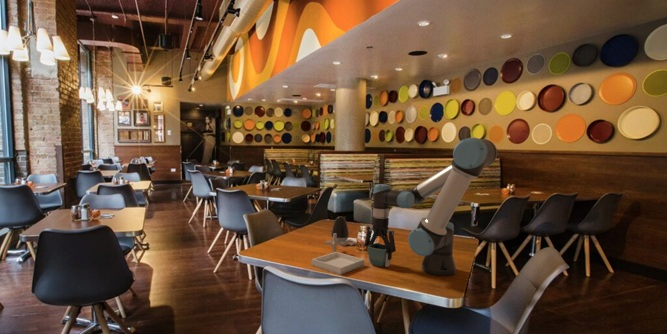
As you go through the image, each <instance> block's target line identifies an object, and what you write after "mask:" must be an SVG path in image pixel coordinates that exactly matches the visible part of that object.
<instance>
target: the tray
mask: <svg viewBox="0 0 667 334" xmlns="http://www.w3.org/2000/svg"><path fill="white" fill-rule="evenodd" d="M311 266H312V267H315V268H318V269H321V270H324V271H327V272H330V273H333V274H336V275H340V276H341V275H344V274H346V273H349V272H351V271H354V270H357V269H359V268H362V267H365V259H364V258H360V257H356V256H353V255H350V254H345V253H342V252H338V251H336V252H333V251H332V252H331V253H327V254H324V255H320V256H318V257H313V258H311Z"/></svg>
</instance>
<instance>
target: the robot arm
mask: <svg viewBox="0 0 667 334" xmlns="http://www.w3.org/2000/svg"><path fill="white" fill-rule="evenodd" d="M452 156H453V159H452V161H451V163H450V164H449V165H447V166H446V167H444V168H442V169H441V170H439V171H438V172H436V173H434V174H433V175H432V176H430V177H428V178H427V179H425V180H423V181H422V182H420V183H418V184H417V185H415V186H414V187H412V188H410V189H403V190H395V189H391V186H390V185H389V184H386V183H385V184H384V183H377V184H375V185H374V186H373V193H372V194H373V205H372V206H373V207H372V226H371V225H370V226H367V227H366V234H365V235H366V236H365V241H364V247H366V248H367V249H368V246H370V245H372V244H374V243H376V241H377V238H378V237H379V238H381V239H382V241H383V243H384V245H385V246H386V249H387V253H386V264H385V265H384V267H386V268H388V267H390V266H391V260H392V258H393V257H392V256H393V255H392V254H393V253H395V252H397V250H396V243H395V236H394V235H395V231H394V230H390V229H389V225H390V223H389V221H390V219H389V216H390V207H396V208H399V209H400V208H401V209H412V207H413V206H414V205H417V206H418V205H420V204H422V203H424V202H425V201H426V200H427V199H428V198H429V197H431V196H433V195H435V194H436V193H438V192H439V194H438V195H437V198H436V199H435V201H434V203H433V205H432V207H431V208H430V210H429V212H428V214H427V216H426V217H422V218H421V220H419V221H420V222H419V223H418V225H417V227H416V228H414V229H412V230H411V231H410V232H409V233H408V237H407V241H408V245H409V248H410V249H411V251H412V252H413V253H414V254H416V255H418V256H421V257H424V258H423V260H422V263H421V270H422V271H423V272H424V273H427V274H430V275H433V276H439V277H449V276H450V277H451V276H454V275H456V273H457V266H456V262H455V259H454V256H453V254H454V253H453V252H454V232H455V229H454V228H455V226H454V223H452V222H450V220H451V218H452V216H453V214H454V213H455V211H456V210H457V207H458V206H459V204H460V202H461V201H462V198H463V197H464V194H465V193H466V191H467V190H468V188H469V186H470V184H471V182H472V181H473V180H474V179H476V178H477V179H478V178H479V177H480V175H481V174H482V172H483V169H485V168H487V167H489V166H492V164H493V163H495V161H496V160H497V156H498V149H497V147H496V145H495V143H494V142H492V141H491V140H489V139H486V138H479V137H467V138H464V139H461V140H460V141H459V142H458V143H456V145H455V146H454V149H453V151H452ZM368 263H371V262H370V259H369V258H368Z"/></svg>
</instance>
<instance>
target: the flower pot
mask: <svg viewBox="0 0 667 334" xmlns="http://www.w3.org/2000/svg"><path fill="white" fill-rule="evenodd" d="M386 253H387V249H386V246H385V244H382V243H377V242H374V244H372V245H370V246H368V248H367V255H368V260H369V259H370V262H369V263H371V266H376V267H381V268H383V267H385V265H386Z"/></svg>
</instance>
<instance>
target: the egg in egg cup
mask: <svg viewBox="0 0 667 334" xmlns="http://www.w3.org/2000/svg"><path fill="white" fill-rule="evenodd" d="M334 233H336V234H337V240H338V242H344V243H346V242H347V240H348V239H349V235H350V234H349V233H350V232H349V227H348V222H347V221H346V216H343V215H342V216H341V215H340V216H337V217H336V218H335V220H334V222H333V225H332V230H331V235H330V236H331V238H332V240H333V234H334Z"/></svg>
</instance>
